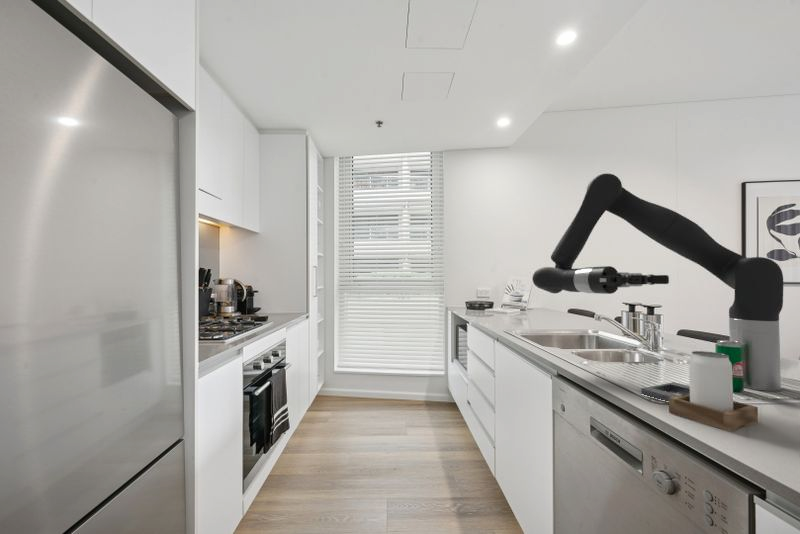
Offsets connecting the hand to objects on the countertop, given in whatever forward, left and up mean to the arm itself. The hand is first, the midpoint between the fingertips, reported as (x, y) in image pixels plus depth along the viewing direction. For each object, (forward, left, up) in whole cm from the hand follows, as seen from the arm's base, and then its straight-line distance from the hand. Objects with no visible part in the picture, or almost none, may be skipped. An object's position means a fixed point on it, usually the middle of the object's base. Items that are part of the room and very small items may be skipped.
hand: (657, 279), depth 85 cm
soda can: (-20, +5, -28) cm, 34 cm away
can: (+6, +13, -27) cm, 30 cm away
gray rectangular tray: (-2, +3, -27) cm, 28 cm away
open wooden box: (+6, +13, -27) cm, 31 cm away
